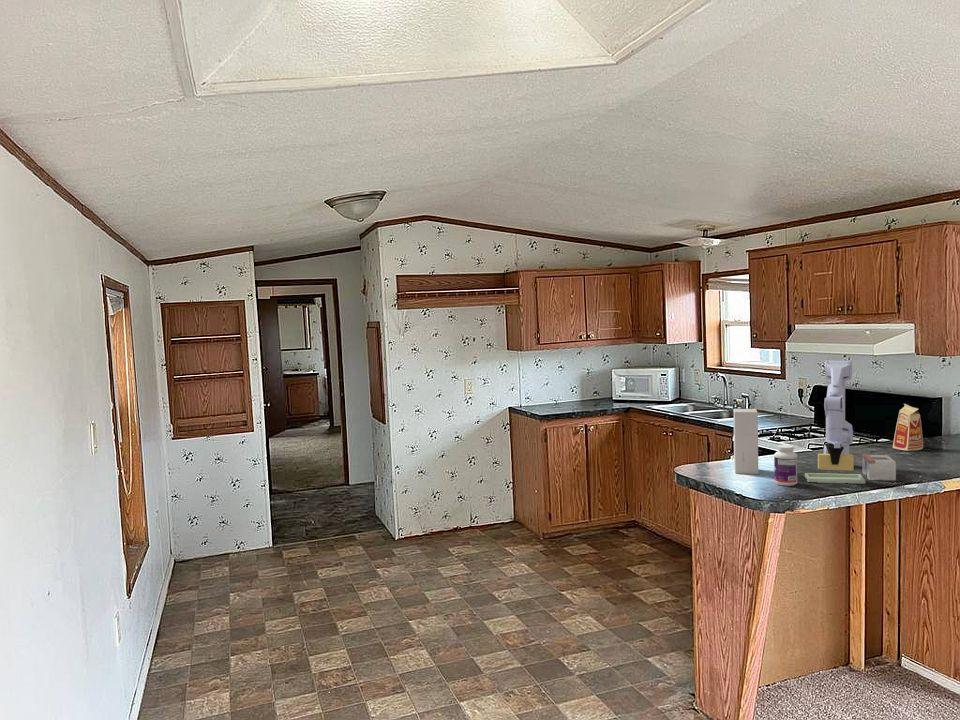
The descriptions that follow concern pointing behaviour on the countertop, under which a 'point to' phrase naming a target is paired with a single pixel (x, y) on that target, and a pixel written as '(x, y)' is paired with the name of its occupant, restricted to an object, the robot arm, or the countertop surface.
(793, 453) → the pill bottle
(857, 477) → the tray
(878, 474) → the dispenser
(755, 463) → the tall white carton
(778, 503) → the countertop surface
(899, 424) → the milk carton
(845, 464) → the tan rectangular block
